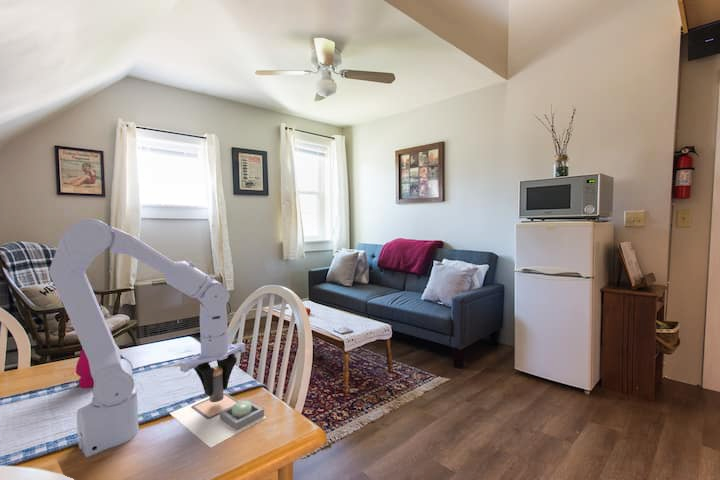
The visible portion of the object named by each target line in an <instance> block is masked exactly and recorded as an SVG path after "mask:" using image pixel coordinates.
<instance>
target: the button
mask: <svg viewBox="0 0 720 480" xmlns="http://www.w3.org/2000/svg"><path fill="white" fill-rule="evenodd" d="M251 402H252V401H251ZM251 402H248V401H244V400H242V401H240V402H238V403H236V404H234V405H233V406H232V416H233V417H234V418H237V419H240V418H243V417H245V416H247V415H249V414H251V413H252V404H251Z"/></svg>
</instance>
